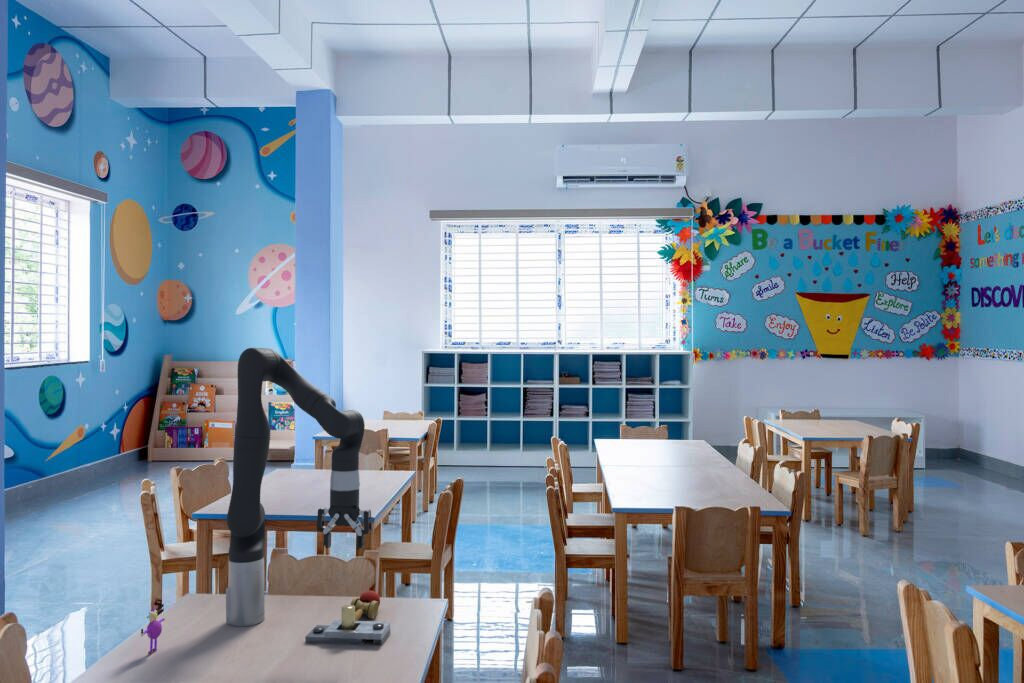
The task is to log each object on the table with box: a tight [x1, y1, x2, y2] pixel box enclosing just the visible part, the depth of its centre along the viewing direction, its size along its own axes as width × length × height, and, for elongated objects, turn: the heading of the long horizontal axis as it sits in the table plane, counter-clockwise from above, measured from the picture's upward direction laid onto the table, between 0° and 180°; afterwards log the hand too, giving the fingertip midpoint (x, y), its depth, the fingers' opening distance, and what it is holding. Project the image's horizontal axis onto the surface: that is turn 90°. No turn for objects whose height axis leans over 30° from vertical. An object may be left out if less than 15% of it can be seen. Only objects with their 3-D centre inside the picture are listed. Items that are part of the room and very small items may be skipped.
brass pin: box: [341, 604, 355, 630], centre depth 199 cm, size 3×3×8 cm
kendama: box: [349, 590, 381, 621], centre depth 212 cm, size 8×6×18 cm
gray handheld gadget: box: [305, 619, 391, 646], centre depth 199 cm, size 20×8×4 cm, turn 83°
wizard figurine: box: [140, 603, 166, 655], centre depth 190 cm, size 11×3×12 cm, turn 177°
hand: (343, 548), depth 202 cm, fingers open, 8 cm apart
